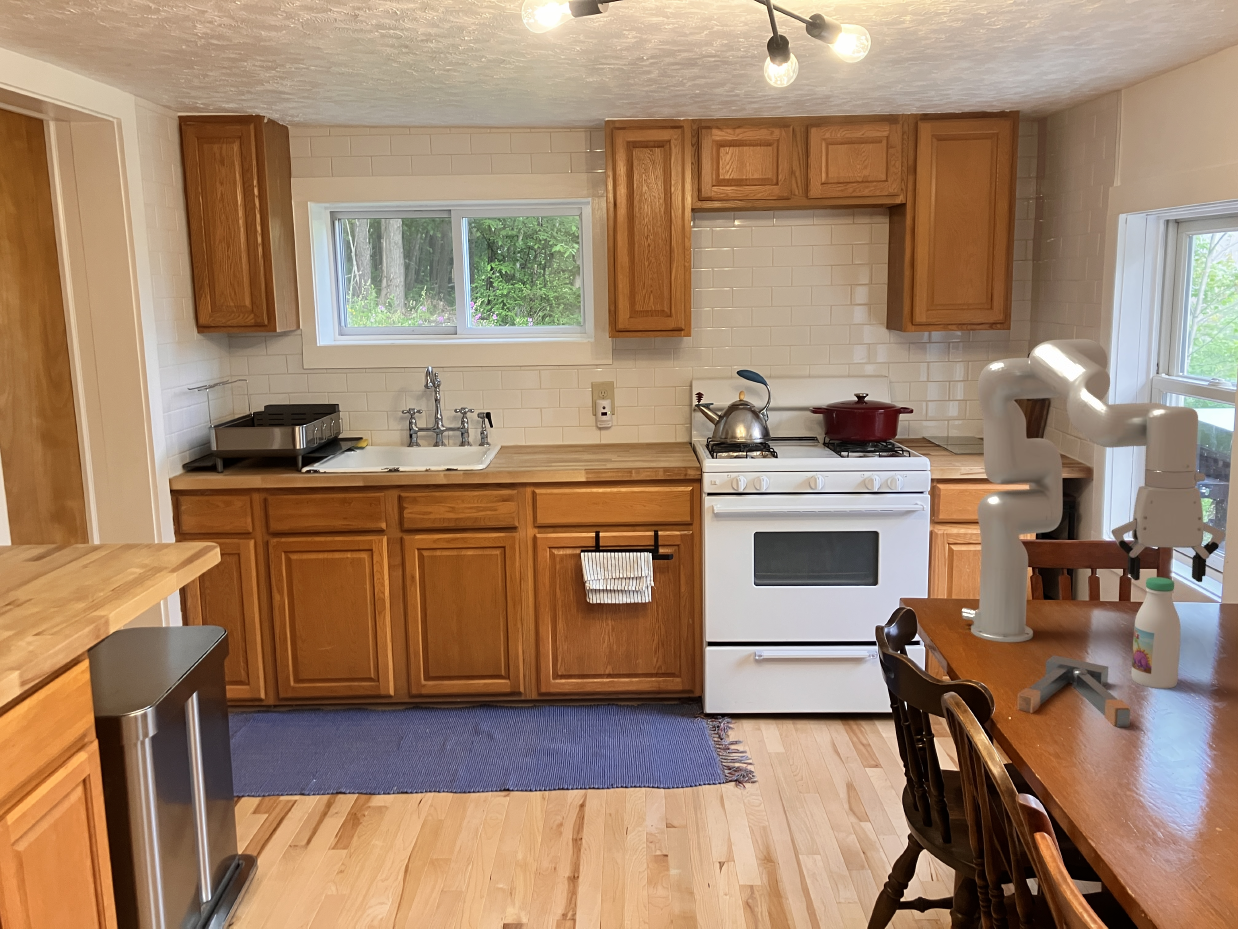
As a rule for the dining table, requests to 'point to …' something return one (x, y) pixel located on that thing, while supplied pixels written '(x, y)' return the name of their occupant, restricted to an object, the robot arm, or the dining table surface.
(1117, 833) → the dining table surface
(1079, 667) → the tongs base
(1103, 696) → the arm
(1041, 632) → the dining table surface
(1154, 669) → the milk bottle
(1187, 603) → the dining table surface
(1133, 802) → the dining table surface
